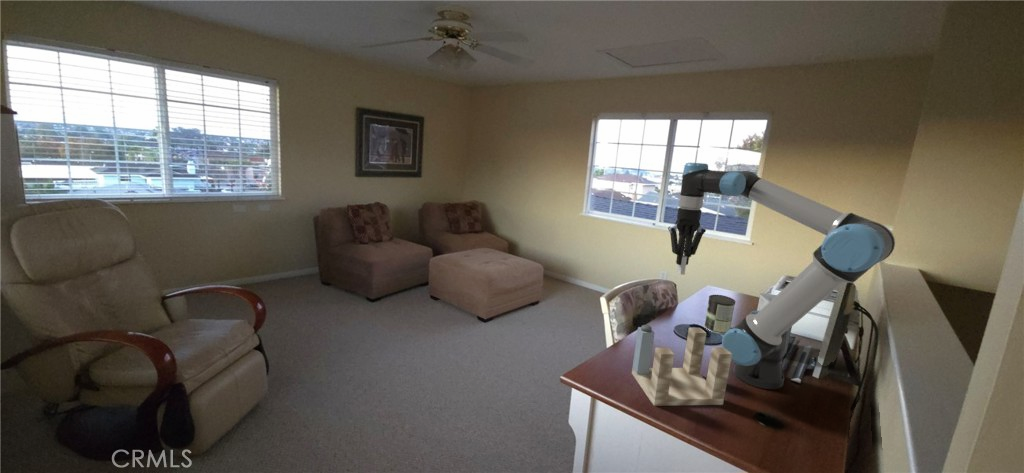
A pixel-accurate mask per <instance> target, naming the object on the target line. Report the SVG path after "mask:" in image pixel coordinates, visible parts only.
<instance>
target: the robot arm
mask: <svg viewBox="0 0 1024 473" xmlns="http://www.w3.org/2000/svg"><path fill="white" fill-rule="evenodd" d="M682 172H683V173H682V175H681V176H682V177H681V178H682V180H681V187H680V195H679V199H678V200H679V201H678V206H679V207H678V208H677V215H676V221H675V223H674V225H672V226H668V228H667V229H668V231H669V233H670V244H671V251H672V252H671V253H673V254H674V255H676V260H675V263H676V265H677V269H676V273H678V275H680V276H681V275H685V274H686V267H687V266H688V265H689V261H690V258H691V257H692V256H694V255H696V253H697V251H698V247H699V245H700V243H701V240H702V237H703V235H704V234H705V233H706V232H707V231H706V230H707V229H706V228H704V227H702V226H701V224H700V221H701V218H702V217H701V216H702V208H703V205H704V204H703V203H704V196H705V194H706V193H707V194H714V195H722V196H726V197H739V196H743V197H745V198H747V199H749V200H750V201H753V202H755V203H757V204H760V205H762V206H764V207H766V208H768V209H770V210H772V211H775V212H776V213H779V214H781V215H782V216H785V217H787V218H788V219H791V220H793V221H795V222H798V223H800V224H801V225H803V226H805V227H807V228H810V229H812V230H814V231H816V232H818V233H820V234H822V235H824V236H825V237H824V239H823V241H822V243H821V245H819V247H817V248H816V249H815V250H814V251H813V252H812V261H811V263H810V264H808V265H807V266H806V267H805V268H804V269H803V270H802V271H801V272H800V273H799V274H797V276H795V277H794V279H793V280H791V281H790V282H789V283H788V284H787V285H786V286H785V287H784V288H783V289H781V291H780V292H779V293H778V294H776V295H777V296H776V297H774V298H773V299H772V300H771V301H770V302H769V303H768V304H767V305H766V306H765V307H764V308H763V309H762V310H761V311H757V310H752V311H750V312H749V314H747V315H746V316H745V317H744V318H743V319H742V320H741V321H740V322H738V324H736V326H734V327H733V328H730V330H728V331H727V332H726V333H725V334H723V336H722V338H721V344H722V348H725V349H727V350H728V351H729V352H730V353H731V354H732V358H731V362H734V365H733V374H734V375H735V376H736V377H737V378H738V379H739V380H741V381H742V382H744V383H745V384H748V385H751V386H752V387H753V386H754V387H756V388H759V389H764V390H779V389H781V388H782V387H783V386H784V383H785V382H784V381H785V374H784V369H783V362H782V361H783V358H784V356H783V353H784V348H785V344H786V339H787V334H788V331H789V328H790V327H793V326H794V325H795V324H796V323H798V322H799V321H800V320H801V319H802V318H804V316H806V315H807V314H808V313H809V312H811V311H812V310H813V309H814V308H815V307H816V306H818V305H819V304H820V303H821V302H823V300H824V299H826V298H827V297H829V295H830V294H832V293H833V292H834V291H836V289H837V288H839V287H840V286H841V285H843V283H847V284H849V283H851V284H853V283H855V282H856V281H858V280H859V279H860V278H861V277H862V276H863V275H864V274H865V273H867V272H869V270H870V269H871V268H873V267H874V266H875V265H876V264H878V263H881V262H883V261H885V260H886V259H888V258H889V257H890V256H891V255H892V254H893V251H894V250H895V246H896V240H895V236H894V234H893V233H892V231H891V230H890V229H889V228H888V227H887V226H885V225H883V224H881V223H879V222H877V221H873V220H871V219H868V218H867V217H866V218H865V217H863V216H860V215H858V214H855V213H853V212H846V213H843V212H841V211H839V210H836V209H834V208H831V207H829V206H827V205H825V204H824V203H823V204H822V203H820V202H819V201H816V200H813V199H810V198H809V197H806V196H804V195H801V194H799V193H796V192H795V191H792V190H789V189H787V188H785V187H783V186H780V185H778V184H776V183H773V182H771V181H768V180H766V179H765V178H761V177H759V176H758V175H757V174H756V173H755V172H752V171H749V170H739V171H735V170H734V171H733V170H730V171H728V170H727V171H725V170H711V169H709V164H707V163H702V162H700V163H699V162H686V163H685V164H684V167H683V171H682ZM677 232H678V234H677Z"/></svg>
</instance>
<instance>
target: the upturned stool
mask: <svg viewBox="0 0 1024 473" xmlns="http://www.w3.org/2000/svg"><path fill="white" fill-rule="evenodd" d="M706 338H707V332H706V331H705V330H704V329H702V328H701V327H688V331H687V339H686V344H685V351H684V358H683V364H682V367H673V366H674V358H675V353H674V352H673V351H672V350H671V349H670V348H669V347H655V349H654V356H653V365H652V367H650V368H649V374H637V373H636V372H635V370H634V369H633V367H632V368H631V375H632V376H633V378H634V379H635V380H636V382H637V383H638V384H639V386H640V387H641V389H642V391H643V392H644V394H645V395H646V396H647V398H648V399H649V401H650V402H651V404H652V405H653V406H654V407H657V406H659V407H660V406H661V407H662V406H717V405H718V406H723V405H724V400H725V395H726V391H727V390H726V389H727V385H728V380H729V373H730V368H731V363H732V360H731V358H732V354H731V353H730V352H729V351H728V350H727V349H725V348H723V347H712V348H711V351H710V357H709V363H708V369H707V375H706V379H705V378H704V377H703V376H702V374H701V369H702V363H703V362H702V361H703V356H704V350H705V345H706Z"/></svg>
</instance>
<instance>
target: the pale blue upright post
mask: <svg viewBox="0 0 1024 473" xmlns="http://www.w3.org/2000/svg"><path fill="white" fill-rule="evenodd" d="M652 328H653V327H652V326H650V325H649V324H648V325H647V324H642V325H641V326H638V327H637V330H636V331H637V333H636V340H635V346H634V354H633V360H632V362H633V363H632V368H633V369H634V370H635V372H636V373H637V374H649V368H651V360H652V354H653V348H654V341H655V340H654V339H655V334H656V333H655V331H654V330H652Z"/></svg>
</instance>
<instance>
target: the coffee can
mask: <svg viewBox="0 0 1024 473" xmlns="http://www.w3.org/2000/svg"><path fill="white" fill-rule="evenodd" d="M735 305H736V300H735V299H734V298H732V297H731V296H726V295H722V294H711V295H709V296H708V302H707V308H706V314H705V320H704V329H705V328H706V329H705V330H707V329H708V330H709V332H710V331H711V333H714V334H717V335H724V334H725V333H726V332H727V331H728V330H730V329H731V327H732V322H733V317H734V316H733V315H734V310H735ZM708 330H707V331H708Z"/></svg>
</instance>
